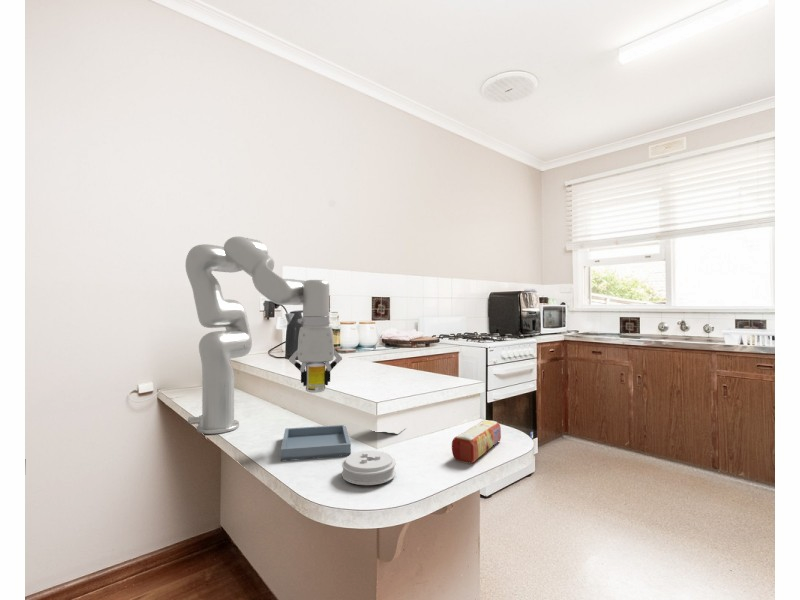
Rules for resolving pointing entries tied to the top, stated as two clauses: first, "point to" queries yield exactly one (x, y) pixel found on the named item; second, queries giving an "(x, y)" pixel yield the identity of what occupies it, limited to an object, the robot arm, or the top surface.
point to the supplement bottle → (315, 377)
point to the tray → (315, 442)
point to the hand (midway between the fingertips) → (315, 384)
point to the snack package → (476, 441)
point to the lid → (368, 468)
